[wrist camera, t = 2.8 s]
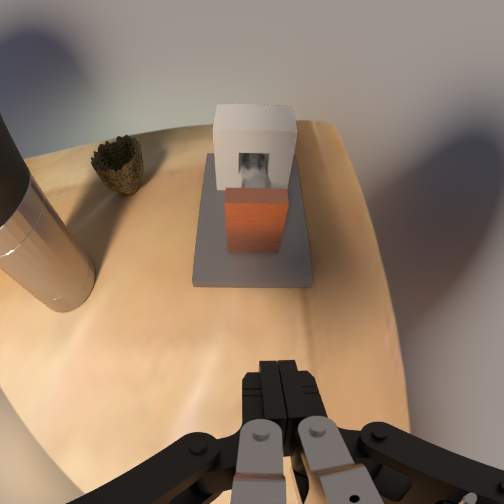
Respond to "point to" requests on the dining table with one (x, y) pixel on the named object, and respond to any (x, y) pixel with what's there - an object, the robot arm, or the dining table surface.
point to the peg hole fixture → (229, 176)
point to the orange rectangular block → (255, 210)
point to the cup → (119, 165)
